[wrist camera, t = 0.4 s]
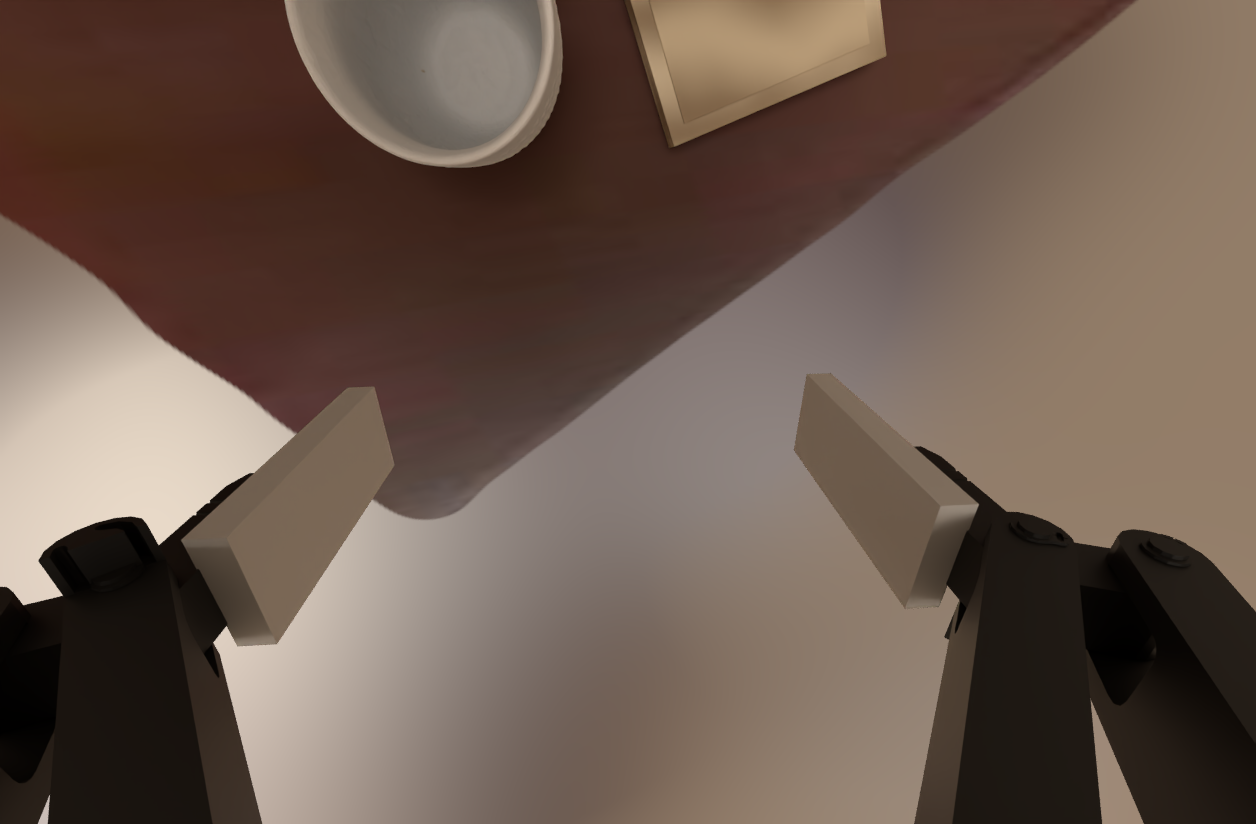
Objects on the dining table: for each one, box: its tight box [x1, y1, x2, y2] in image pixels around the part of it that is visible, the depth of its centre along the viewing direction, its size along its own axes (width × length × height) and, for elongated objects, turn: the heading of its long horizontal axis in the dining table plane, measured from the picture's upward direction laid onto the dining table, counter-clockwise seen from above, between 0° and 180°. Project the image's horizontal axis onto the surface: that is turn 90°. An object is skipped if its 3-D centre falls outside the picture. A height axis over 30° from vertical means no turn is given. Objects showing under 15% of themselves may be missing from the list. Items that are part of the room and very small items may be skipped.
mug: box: [284, 0, 563, 168], centre depth 25 cm, size 15×11×13 cm
